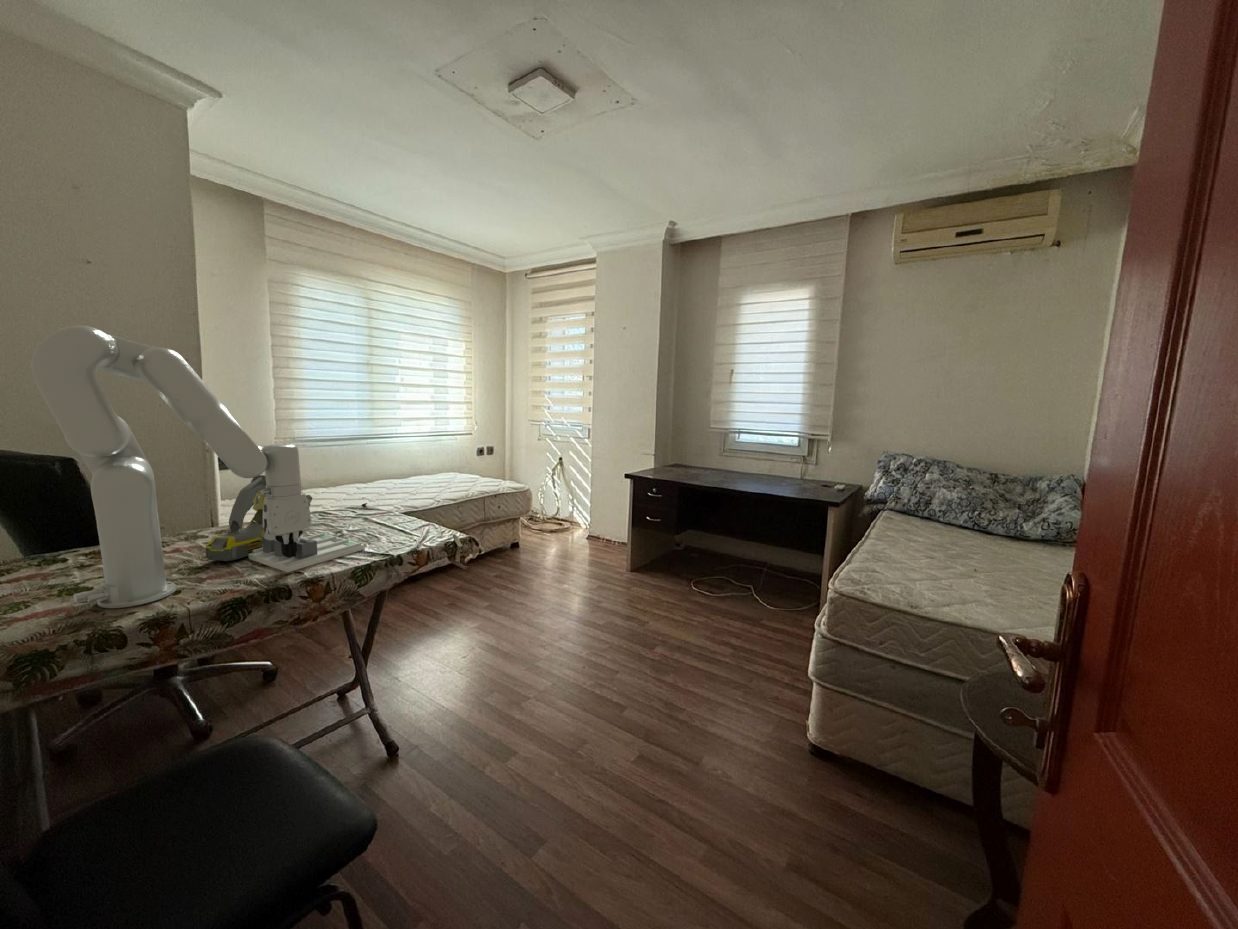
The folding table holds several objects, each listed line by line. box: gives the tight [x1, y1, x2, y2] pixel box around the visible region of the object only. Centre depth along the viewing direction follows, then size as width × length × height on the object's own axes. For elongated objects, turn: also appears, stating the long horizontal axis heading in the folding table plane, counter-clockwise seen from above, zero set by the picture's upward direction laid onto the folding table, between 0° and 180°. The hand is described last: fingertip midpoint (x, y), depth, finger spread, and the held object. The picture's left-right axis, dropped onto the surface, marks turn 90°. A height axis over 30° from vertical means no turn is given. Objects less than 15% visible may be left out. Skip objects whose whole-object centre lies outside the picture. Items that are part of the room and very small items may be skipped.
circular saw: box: [205, 474, 313, 562], centre depth 142 cm, size 10×30×25 cm
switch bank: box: [247, 532, 366, 573], centre depth 137 cm, size 22×19×2 cm
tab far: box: [262, 536, 275, 553], centre depth 134 cm, size 4×4×5 cm
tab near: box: [294, 536, 318, 559], centre depth 131 cm, size 4×4×5 cm
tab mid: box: [274, 540, 283, 557], centre depth 132 cm, size 4×4×5 cm
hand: (289, 556), depth 127 cm, fingers closed
